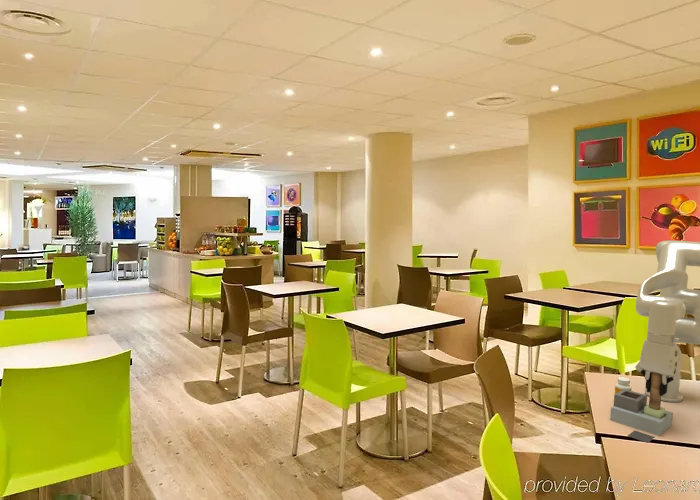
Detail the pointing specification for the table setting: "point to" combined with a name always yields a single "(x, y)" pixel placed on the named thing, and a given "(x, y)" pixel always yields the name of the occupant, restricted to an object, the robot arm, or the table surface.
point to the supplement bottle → (622, 384)
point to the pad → (641, 436)
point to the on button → (654, 412)
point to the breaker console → (638, 413)
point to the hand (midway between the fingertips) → (655, 392)
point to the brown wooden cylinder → (655, 391)
